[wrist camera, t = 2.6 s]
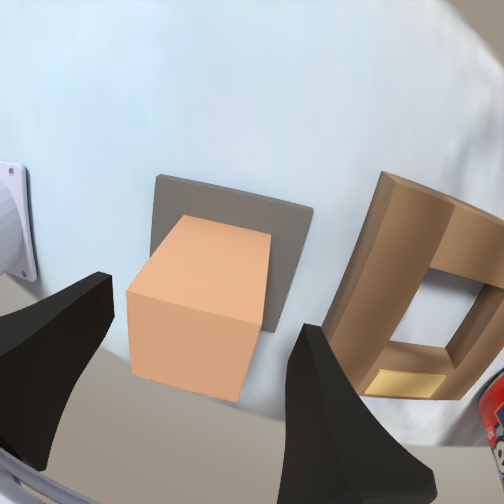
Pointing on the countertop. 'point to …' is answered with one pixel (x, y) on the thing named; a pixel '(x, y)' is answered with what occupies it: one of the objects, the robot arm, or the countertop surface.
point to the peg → (199, 307)
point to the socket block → (405, 287)
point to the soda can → (494, 420)
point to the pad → (240, 215)
